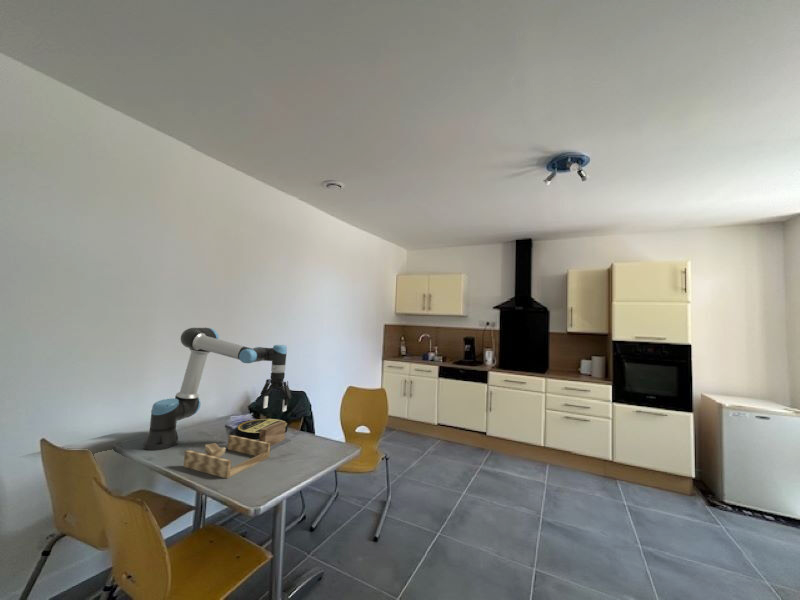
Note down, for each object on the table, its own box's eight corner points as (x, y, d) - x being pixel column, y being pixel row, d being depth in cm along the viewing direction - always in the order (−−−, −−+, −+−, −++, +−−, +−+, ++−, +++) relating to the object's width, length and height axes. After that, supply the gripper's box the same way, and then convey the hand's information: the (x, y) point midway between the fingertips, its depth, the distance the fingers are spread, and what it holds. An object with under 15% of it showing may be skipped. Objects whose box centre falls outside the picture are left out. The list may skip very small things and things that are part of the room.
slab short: (211, 458, 152) (212, 452, 152) (204, 450, 160) (205, 444, 160) (221, 456, 155) (222, 450, 155) (214, 448, 163) (215, 442, 164)
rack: (183, 466, 147) (185, 451, 148) (229, 448, 171) (230, 434, 172) (226, 478, 138) (228, 461, 139) (269, 457, 162) (270, 443, 162)
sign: (257, 416, 218) (296, 421, 212) (256, 422, 218) (296, 427, 212) (225, 429, 189) (270, 435, 183) (224, 436, 189) (269, 442, 183)
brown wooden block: (258, 447, 172) (260, 428, 173) (279, 438, 187) (280, 421, 188) (264, 448, 171) (265, 429, 172) (284, 439, 186) (285, 422, 187)
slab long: (198, 466, 149) (198, 459, 150) (216, 453, 165) (216, 447, 166) (207, 466, 150) (208, 460, 150) (225, 453, 166) (225, 447, 166)
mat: (251, 449, 171) (251, 447, 171) (277, 437, 190) (277, 436, 190) (266, 452, 168) (266, 451, 168) (290, 440, 187) (291, 439, 187)
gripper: (256, 370, 183) (252, 407, 182) (291, 374, 175) (287, 414, 173) (265, 369, 191) (262, 405, 189) (299, 373, 182) (296, 411, 180)
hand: (274, 409), depth 181 cm, fingers open, 13 cm apart
